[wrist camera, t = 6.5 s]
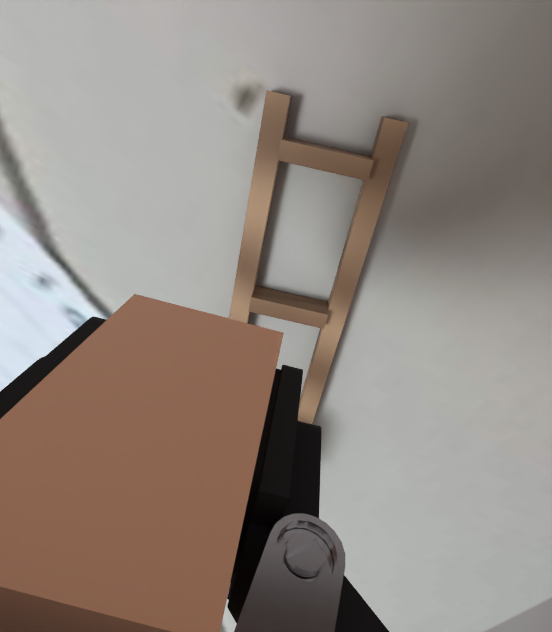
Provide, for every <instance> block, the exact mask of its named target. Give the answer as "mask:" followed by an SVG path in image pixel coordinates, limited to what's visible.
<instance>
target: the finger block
mask: <svg viewBox="0 0 552 632" xmlns="http://www.w3.org/2000/svg"><path fill="white" fill-rule="evenodd" d="M282 338H283V333H282V332H278V331H275V330H271V329H267V328H263V327H259V326H255V325H252V324H248V323H244V322H240V321H236V320H232V319H229V318H225V317H221V316H217V315H213V314H209V313H206V312H202V311H198V310H194V309H190V308H186V307H182V306H179V305H175V304H171V303H167V302H163V301H159V300H156V299H152V298H148V297H144V296H140V295H136V294H134V295H133V296H132V297H131V298H130V299H129V300H128V301H127V302H126V303H125V304H123V305H122V306H121V307H120V308H119V309H118V310H117V311H116V312H115V313H114V314H113V315H112V316H111V317H110V318H108V319H107V320H106V321H105V322H104V323H103V324H102V325H101V326H100V327H99V328H98V329H97V330H96V331H94V332H93V333H92V334H91V335H90V336H89V337H88V338H87V339H86V340H85V341H84V342H83V343H82V344H81V345H79V346H78V347H77V348H76V349H75V350H74V351H73V352H72V353H71V354H70V355H69V356H68V357H67V358H65V359H64V360H63V361H62V362H61V363H60V364H59V365H58V366H57V367H56V368H55V369H54V370H53V371H51V372H50V373H49V374H48V375H47V376H46V377H45V378H44V379H43V380H42V381H41V382H40V383H39V384H38V385H36V386H35V387H34V388H33V389H32V390H31V391H30V392H29V393H28V394H27V395H26V396H25V397H24V398H22V399H21V400H20V401H19V402H18V403H17V404H16V405H15V406H14V407H13V408H12V409H11V410H10V411H9V412H7V413H6V414H5V415H4V416H3V417H2V418H1V419H0V632H220V628H221V623H222V619H223V614H224V609H225V605H226V600H227V595H228V591H229V586H230V581H231V577H232V572H233V567H234V563H235V558H236V553H237V548H238V544H239V539H240V534H241V530H242V525H243V520H244V516H245V511H246V506H247V502H248V497H249V492H250V488H251V483H252V478H253V474H254V469H255V464H256V459H257V455H258V450H259V445H260V441H261V436H262V431H263V427H264V422H265V417H266V413H267V408H268V403H269V399H270V394H271V389H272V385H273V380H274V375H275V370H276V366H277V361H278V356H279V352H280V347H281V342H282Z"/></svg>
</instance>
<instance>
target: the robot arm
mask: <svg viewBox="0 0 552 632" xmlns="http://www.w3.org/2000/svg"><path fill="white" fill-rule="evenodd" d="M105 321H106V319H102V318H98V317H91V318H90V319H89V320H87V321H86V322H85V323H84V324H83V325H82V326H80V327H79V328H78V329H77V330H76V331H75V332H73V333H72V334H71V335H70V336H69V337H68V338H66V339H65V340H64V341H63V342H62V343H61V344H59V345H58V346H57V347H56V348H55V349H54V350H52V351H51V352H50V353H49V354H48V355H47V356H45V357H42V358H40V359H39V360H37V361H36V362H35V363H34V364H32V365H31V366H30V367H29V368H28V369H27V370H25V371H24V372H23V373H22V374H21V375H19V376H18V377H17V378H16V379H15V380H14V381H12V382H11V383H10V384H9V385H8V386H6V387H5V388H4V389H3V390H2V391H1V392H0V419H1V418H2V417H3V416H4V415H5V414H6V413H7V412H9V411H10V410H11V409H12V408H13V407H14V406H15V405H16V404H17V403H18V402H19V401H20V400H21V399H22V398H24V397H25V396H26V395H27V394H28V393H29V392H30V391H31V390H32V389H33V388H34V387H35V386H36V385H38V384H39V383H40V382H41V381H42V380H43V379H44V378H45V377H46V376H47V375H48V374H49V373H50V372H51V371H53V370H54V369H55V368H56V367H57V366H58V365H59V364H60V363H61V362H62V361H63V360H64V359H65V358H67V357H68V356H69V355H70V354H71V353H72V352H73V351H74V350H75V349H76V348H77V347H78V346H79V345H81V344H82V343H83V342H84V341H85V340H86V339H87V338H88V337H89V336H90V335H91V334H92V333H93V332H94V331H96V330H97V329H98V328H99V327H100V326H101V325H102V324H103V323H104V322H105ZM302 375H303V370H302V369H298V368H294V367H290V366H286V365H282V368H281V370H279V369H276V370H275V375H274V380H273V385H272V389H271V394H270V399H269V403H268V408H267V413H266V417H265V422H264V427H263V431H262V436H261V441H260V445H259V450H258V455H257V459H256V464H255V469H254V474H253V478H252V483H251V488H250V492H249V497H248V502H247V506H246V511H245V516H244V520H243V525H242V530H241V534H240V539H239V544H238V548H237V553H236V558H235V563H234V567H233V572H232V577H231V581H230V582H231V583H230V588H229V593H228V597H227V599H229V602H228V609H229V611H230V612H231V614H232V616H233V618H234V620H235V621H236V623H237V625H236V628H235V631H234V632H389V631H388V630H387V628H386V627H385V626H384V625H383V623H382V622H381V621H380V620H379V618H378V617H377V616H376V615H375V613H374V612H373V611H372V610H371V608H370V607H369V606H368V605H367V603H366V602H365V601H364V599H363V598H362V597H361V596H360V594H359V593H358V592H357V591H356V589H355V588H354V587H353V586H352V584H351V583H350V582H349V581H348V579H347V578H346V577H345V576H344V570H345V552H344V549H343V545H342V542H341V541H340V539H339V537H338V536H337V534H336V533H335V531H334V530H333V529H332V528H331V527H330V526H329V525H328V524H327V523H325V522H324V521H322V520H320V519H319V494H320V460H321V427H320V426H316V425H312V424H309V423H305V422H301V421H298V412H299V402H300V393H301V384H302Z"/></svg>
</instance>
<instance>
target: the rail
mask: <svg viewBox="0 0 552 632" xmlns="http://www.w3.org/2000/svg"><path fill="white" fill-rule="evenodd" d="M291 100H292V96H289V95H285V94H281V93H276V92H272V91H267V92H266V98H265V104H264V110H263V116H262V122H261V128H260V134H259V140H258V146H257V152H256V158H255V164H254V170H253V176H252V183H251V189H250V195H249V201H248V207H247V213H246V219H245V225H244V231H243V237H242V243H241V249H240V255H239V261H238V267H237V273H236V279H235V285H234V291H233V297H232V303H231V309H230V315H229V319H232V320H236V321H240V322H244V323H249V317H250V312H253V313H257V314H262V315H266V316H270V317H275V318H279V319H283V320H288V321H292V322H296V323H301V324H305V325H310V326H314V327H318V328H320V332H319V335H318V339H317V342H316V346H315V349H314V352H313V356H312V359H311V363H310V366H309V370H308V373H307V377H306V380H305V383H304V387H303V390H302V394H301V397H300V402H299V412H298V421H301V422H305V423H309V424H312V423H313V420H314V416H315V413H316V410H317V407H318V404H319V401H320V398H321V395H322V391H323V388H324V385H325V382H326V379H327V376H328V373H329V370H330V367H331V363H332V360H333V357H334V354H335V351H336V348H337V345H338V342H339V338H340V335H341V332H342V329H343V326H344V323H345V320H346V317H347V313H348V310H349V307H350V304H351V301H352V298H353V295H354V292H355V288H356V285H357V282H358V279H359V276H360V273H361V270H362V267H363V263H364V260H365V257H366V254H367V251H368V248H369V245H370V242H371V238H372V235H373V232H374V229H375V226H376V223H377V220H378V217H379V214H380V210H381V207H382V204H383V201H384V198H385V195H386V192H387V189H388V185H389V182H390V179H391V176H392V173H393V170H394V167H395V164H396V160H397V157H398V154H399V151H400V148H401V145H402V142H403V139H404V135H405V132H406V129H407V126H408V122H404V121H399V120H395V119H390V118H386V117H382V118H381V122H380V125H379V129H378V132H377V136H376V139H375V143H374V146H373V149H372V153H371V156H370V157H369V156H365V155H360V154H356V153H351V152H347V151H343V150H338V149H334V148H330V147H325V146H321V145H316V144H312V143H308V142H303V141H299V140H294V139H290V138H286V137H284V136H285V131H286V126H287V120H288V115H289V110H290V105H291ZM280 161H283V162H288V163H292V164H296V165H301V166H305V167H309V168H314V169H318V170H323V171H327V172H331V173H336V174H340V175H345V176H349V177H353V178H358V179H362V180H363V184H362V187H361V191H360V194H359V198H358V201H357V204H356V208H355V211H354V215H353V218H352V222H351V225H350V229H349V232H348V235H347V239H346V242H345V246H344V249H343V253H342V256H341V260H340V263H339V266H338V270H337V273H336V277H335V280H334V284H333V287H332V291H331V294H330V297H329V301H328V302H325V301H320V300H316V299H311V298H307V297H303V296H298V295H294V294H290V293H285V292H281V291H277V290H272V289H268V288H264V287H259V286H256V281H257V276H258V271H259V266H260V260H261V255H262V250H263V245H264V240H265V235H266V229H267V224H268V219H269V214H270V209H271V203H272V198H273V193H274V188H275V183H276V177H277V172H278V167H279V162H280Z"/></svg>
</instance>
